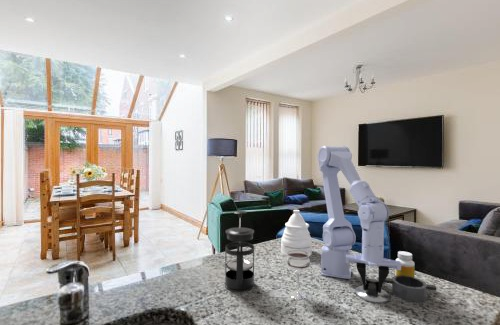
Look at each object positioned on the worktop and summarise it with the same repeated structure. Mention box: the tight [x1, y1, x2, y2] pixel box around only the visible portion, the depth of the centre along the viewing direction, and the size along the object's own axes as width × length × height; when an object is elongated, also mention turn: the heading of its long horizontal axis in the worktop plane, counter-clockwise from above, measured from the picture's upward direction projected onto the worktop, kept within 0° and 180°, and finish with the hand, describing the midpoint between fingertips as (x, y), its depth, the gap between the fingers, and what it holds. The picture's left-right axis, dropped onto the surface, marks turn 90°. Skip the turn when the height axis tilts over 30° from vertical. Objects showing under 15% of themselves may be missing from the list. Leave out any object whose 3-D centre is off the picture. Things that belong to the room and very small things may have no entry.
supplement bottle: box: [394, 250, 416, 277], centre depth 87 cm, size 5×5×10 cm
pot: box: [383, 274, 437, 304], centre depth 80 cm, size 13×9×4 cm, turn 69°
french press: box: [224, 210, 255, 293], centre depth 85 cm, size 12×9×23 cm
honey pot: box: [280, 209, 313, 257], centre depth 116 cm, size 13×13×18 cm
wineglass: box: [286, 250, 311, 300], centre depth 80 cm, size 7×7×12 cm
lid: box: [354, 278, 390, 304], centre depth 80 cm, size 9×9×4 cm
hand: (371, 290), depth 80 cm, fingers closed on lid, 3 cm apart
